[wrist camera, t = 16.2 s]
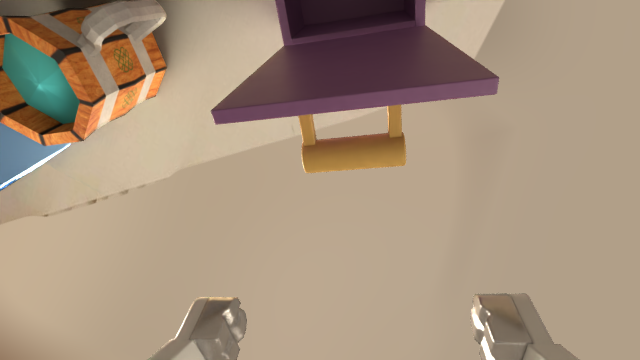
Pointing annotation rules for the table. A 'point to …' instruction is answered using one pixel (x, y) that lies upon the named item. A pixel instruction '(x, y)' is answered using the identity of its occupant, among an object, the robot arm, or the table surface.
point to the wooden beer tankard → (78, 68)
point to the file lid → (356, 90)
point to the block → (21, 155)
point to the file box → (345, 18)
